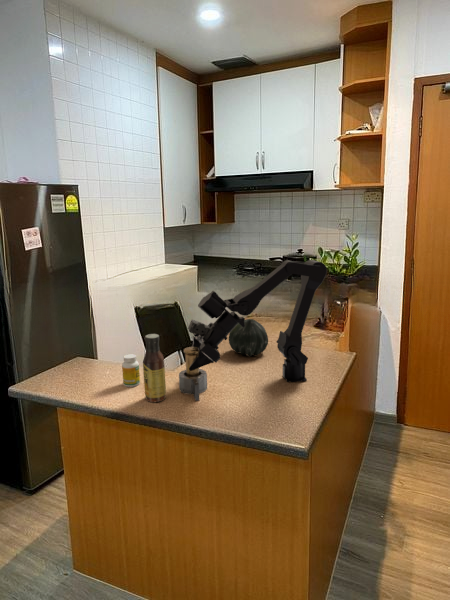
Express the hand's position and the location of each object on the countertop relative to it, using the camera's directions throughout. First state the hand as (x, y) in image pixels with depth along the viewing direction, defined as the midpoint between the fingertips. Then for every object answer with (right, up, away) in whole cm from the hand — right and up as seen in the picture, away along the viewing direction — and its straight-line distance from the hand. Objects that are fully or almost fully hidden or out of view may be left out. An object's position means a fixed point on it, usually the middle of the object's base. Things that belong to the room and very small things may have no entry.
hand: (187, 364), depth 137 cm
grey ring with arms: (+2, -8, +2) cm, 8 cm away
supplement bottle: (-19, -8, +7) cm, 21 cm away
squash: (+21, -1, +34) cm, 40 cm away
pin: (+2, -8, +2) cm, 8 cm away
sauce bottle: (-9, -10, -5) cm, 14 cm away
